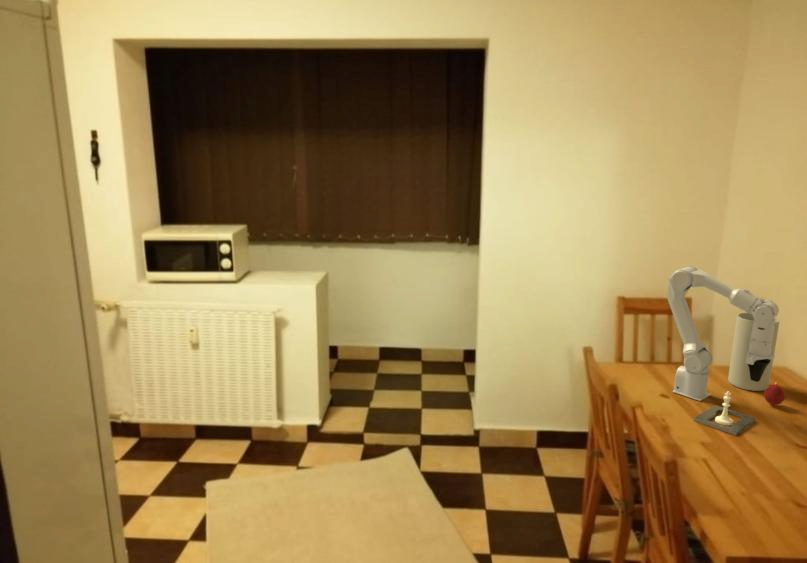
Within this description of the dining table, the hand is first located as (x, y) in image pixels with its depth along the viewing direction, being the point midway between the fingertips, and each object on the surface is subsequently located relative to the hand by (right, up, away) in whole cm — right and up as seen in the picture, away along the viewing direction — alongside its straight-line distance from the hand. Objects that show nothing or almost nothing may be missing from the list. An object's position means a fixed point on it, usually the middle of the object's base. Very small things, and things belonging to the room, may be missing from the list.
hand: (755, 380), depth 177 cm
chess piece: (-13, -12, -5) cm, 18 cm away
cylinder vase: (+12, -6, +23) cm, 26 cm away
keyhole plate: (-12, -12, -5) cm, 18 cm away
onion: (+10, -9, +6) cm, 15 cm away
